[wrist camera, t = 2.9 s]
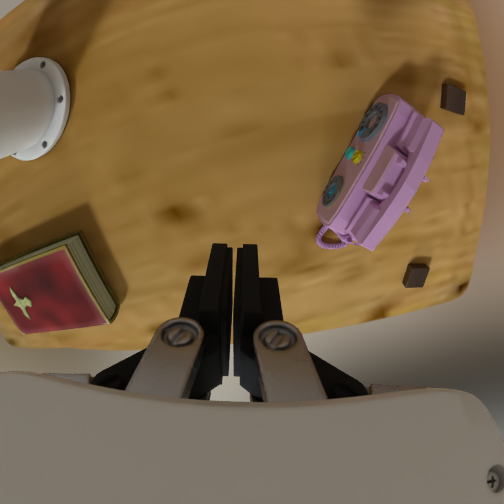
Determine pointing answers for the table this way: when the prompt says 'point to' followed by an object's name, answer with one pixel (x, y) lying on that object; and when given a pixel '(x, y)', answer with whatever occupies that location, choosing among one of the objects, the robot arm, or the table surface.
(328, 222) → the toy telephone
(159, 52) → the table surface
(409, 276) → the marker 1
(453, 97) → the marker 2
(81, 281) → the hardcover book
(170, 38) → the table surface
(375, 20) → the table surface
